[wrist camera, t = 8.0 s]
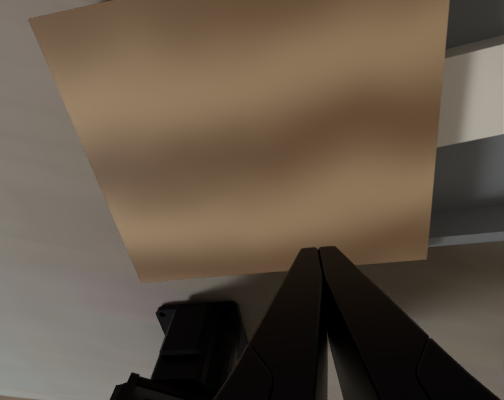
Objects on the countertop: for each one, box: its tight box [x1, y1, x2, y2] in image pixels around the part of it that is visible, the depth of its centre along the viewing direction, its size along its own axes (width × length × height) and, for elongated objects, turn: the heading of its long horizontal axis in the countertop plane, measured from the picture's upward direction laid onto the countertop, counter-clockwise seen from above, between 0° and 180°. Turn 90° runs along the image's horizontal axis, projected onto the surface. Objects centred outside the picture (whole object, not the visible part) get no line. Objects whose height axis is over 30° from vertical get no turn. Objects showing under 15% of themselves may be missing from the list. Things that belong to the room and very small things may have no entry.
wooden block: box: [28, 0, 450, 283], centre depth 17 cm, size 14×16×4 cm
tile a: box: [437, 35, 504, 147], centre depth 16 cm, size 4×4×2 cm
